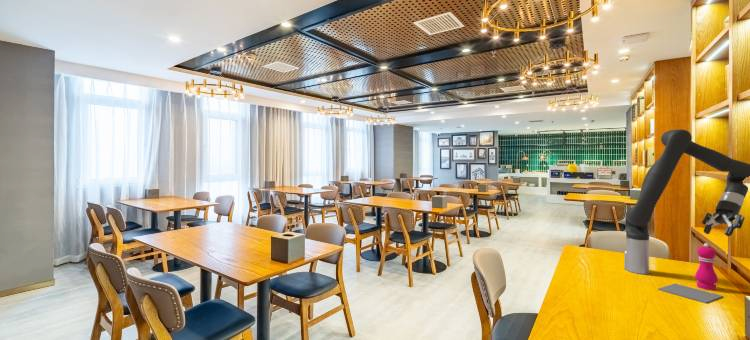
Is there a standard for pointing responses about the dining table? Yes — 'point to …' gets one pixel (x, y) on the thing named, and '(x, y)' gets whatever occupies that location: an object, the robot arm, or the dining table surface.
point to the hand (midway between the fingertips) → (716, 234)
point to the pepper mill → (706, 268)
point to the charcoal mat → (690, 293)
